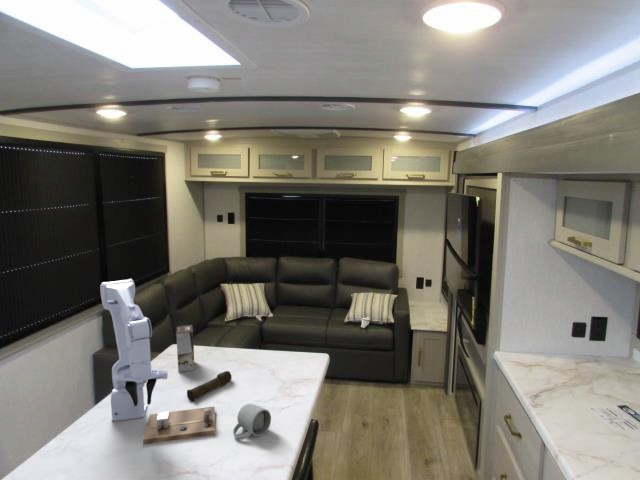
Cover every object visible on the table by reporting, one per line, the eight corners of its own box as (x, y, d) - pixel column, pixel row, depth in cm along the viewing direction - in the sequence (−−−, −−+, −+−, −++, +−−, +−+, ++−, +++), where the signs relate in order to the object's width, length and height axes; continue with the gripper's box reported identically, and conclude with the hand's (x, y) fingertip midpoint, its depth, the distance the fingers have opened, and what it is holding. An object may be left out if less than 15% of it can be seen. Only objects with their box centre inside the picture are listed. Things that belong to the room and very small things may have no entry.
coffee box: (194, 370, 172) (193, 331, 170) (178, 372, 170) (176, 333, 168) (194, 361, 181) (192, 324, 179) (178, 363, 179) (176, 326, 177)
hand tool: (193, 403, 147) (192, 390, 146) (186, 399, 150) (185, 386, 149) (236, 383, 162) (235, 371, 161) (229, 380, 164) (228, 368, 164)
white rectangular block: (157, 430, 127) (156, 421, 127) (159, 421, 132) (158, 412, 131) (167, 429, 128) (167, 419, 127) (169, 420, 132) (168, 411, 132)
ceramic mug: (254, 420, 136) (253, 397, 135) (272, 429, 131) (271, 406, 130) (227, 435, 128) (225, 411, 127) (244, 446, 123) (243, 421, 122)
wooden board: (143, 444, 123) (142, 428, 123) (149, 418, 137) (149, 404, 136) (214, 434, 128) (214, 419, 128) (214, 410, 142) (214, 396, 141)
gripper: (110, 368, 120) (113, 413, 122) (164, 363, 124) (167, 407, 126) (115, 358, 127) (118, 401, 129) (167, 353, 131) (169, 395, 132)
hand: (142, 403), depth 128 cm, fingers open, 3 cm apart
